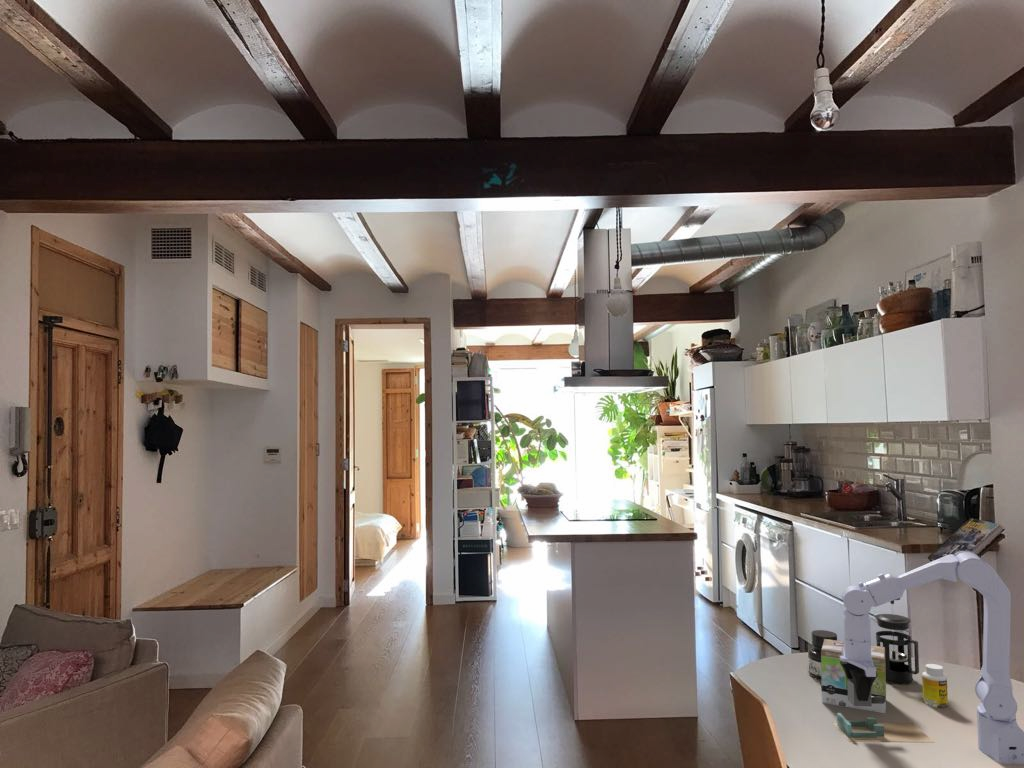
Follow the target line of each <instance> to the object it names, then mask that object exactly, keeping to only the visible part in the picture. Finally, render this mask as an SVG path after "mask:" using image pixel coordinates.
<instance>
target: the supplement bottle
mask: <svg viewBox="0 0 1024 768" xmlns="http://www.w3.org/2000/svg"><path fill="white" fill-rule="evenodd" d="M921 674H922V675H921V676H922V677H921V680H922V681H921V683H922V684H921V685H922V703H923V704H925V705H927V706H929V707H932V708H937V709H944V708H947V707H948V706H949V702H948V697H949V696H948V695H949V694H948V677H947V675H946V674H945V673H944V667H943V666H942V665H941V664H940V665H939V664H935V663H928V664H925V671H923V672H922V673H921Z"/></svg>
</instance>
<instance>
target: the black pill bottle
mask: <svg viewBox="0 0 1024 768" xmlns="http://www.w3.org/2000/svg"><path fill="white" fill-rule="evenodd" d="M824 639H829V640H836V641H838V634H837V633H836V632H833V631H831V630H830V631H829V630H825V629H823V630H822V629H815V630H813V631H811V645H812V646H811V647H810V648H809V649H808V651H807V666H808V667H807V668H808V669H807V670H808V674H809V675H810V676H811V675H812V676H811V677H813V678H815V679H819V680H821V649H822V646H823V642H824Z"/></svg>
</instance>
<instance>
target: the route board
mask: <svg viewBox="0 0 1024 768" xmlns="http://www.w3.org/2000/svg"><path fill="white" fill-rule="evenodd" d="M832 724H833V725H834V726H835V728H837V730H838V731H839V732H840V734H842V735H843V736H844V738H845V739H846V740H847V741H848V742H849V743H850V742H856V743H857V742H861V743H862V742H863V743H867V742H868V743H870V742H871V743H875V742H876V743H935V741H934V740H933V739H931V738H930V737H929V736H928V735H927V734H926V733H924V732H923V731H922V729H920V728H919V727H918V726H917V725H915V724H914V723H913V722H877V718H876V717H874V716H867V717H865V720H848V719H846V717H845V716H844V715H843V714H842V712H836V721H834V722H832Z"/></svg>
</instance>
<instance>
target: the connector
mask: <svg viewBox="0 0 1024 768" xmlns="http://www.w3.org/2000/svg"><path fill="white" fill-rule="evenodd" d="M848 700H849V701H850V702H851V703H852V704H853V705H854V706H872V704H883V703H885V699H884V697H882V696H871V690H870V695H869V699H868V701H859V700H858V698H857V695H856V688H855V683H854V679H848Z"/></svg>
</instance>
